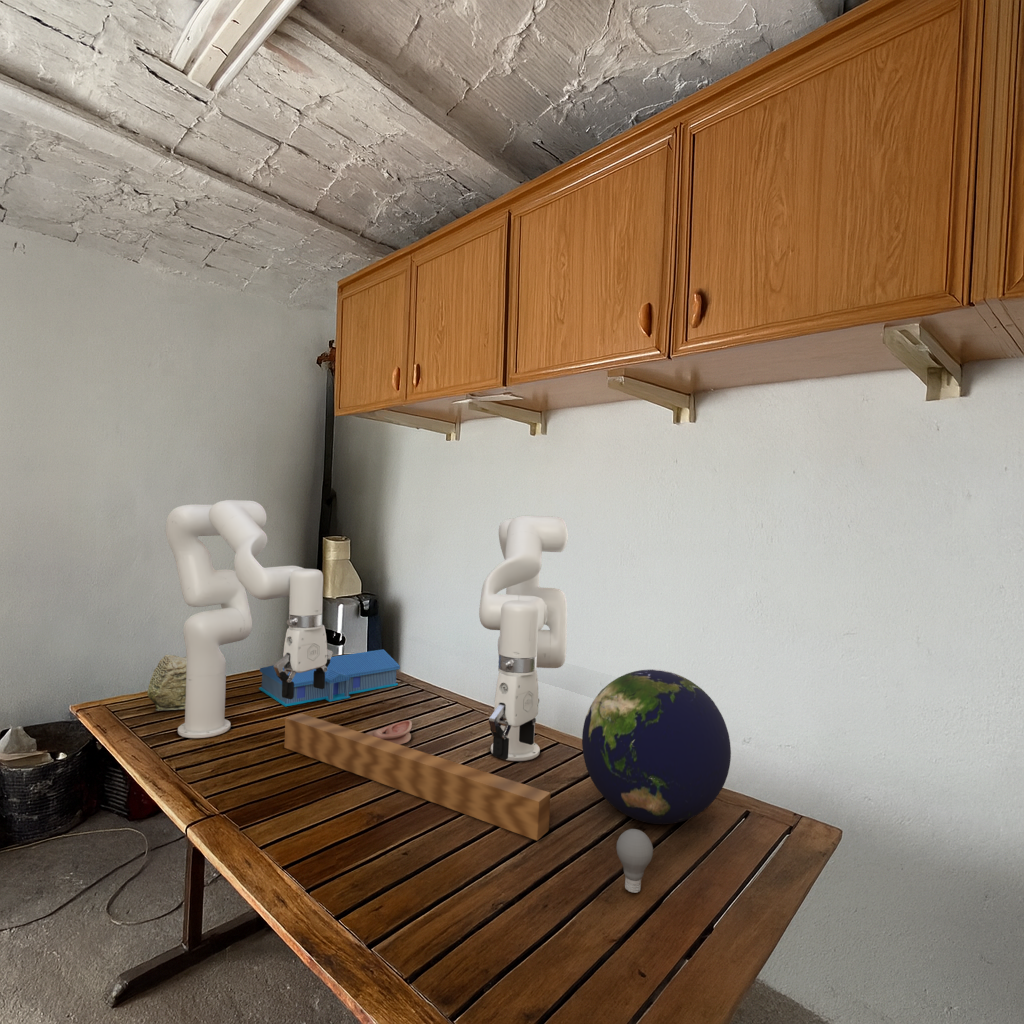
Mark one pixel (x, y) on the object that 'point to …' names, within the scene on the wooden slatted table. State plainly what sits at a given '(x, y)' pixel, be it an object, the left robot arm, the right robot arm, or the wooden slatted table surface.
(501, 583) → the right robot arm
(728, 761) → the globe
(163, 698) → the fossil
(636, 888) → the light bulb
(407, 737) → the anatomical model
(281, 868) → the wooden slatted table surface
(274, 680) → the model building
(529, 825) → the bar
